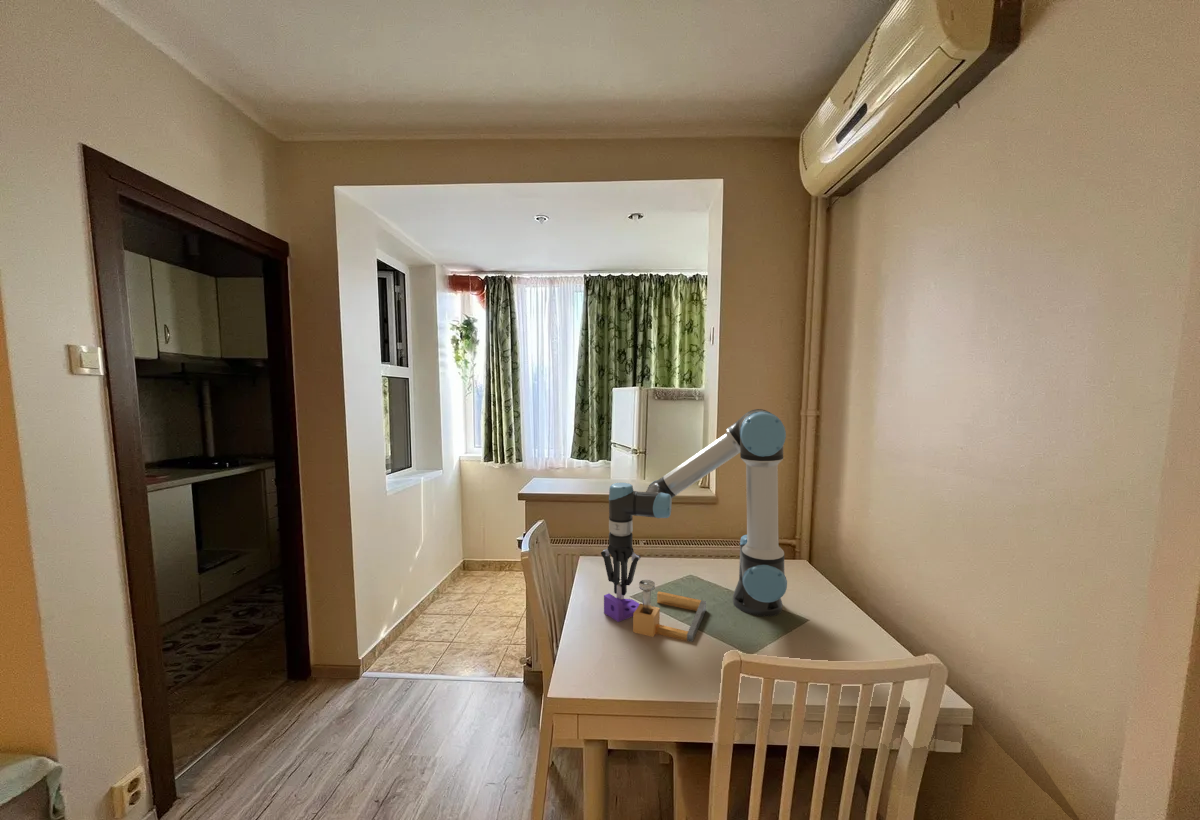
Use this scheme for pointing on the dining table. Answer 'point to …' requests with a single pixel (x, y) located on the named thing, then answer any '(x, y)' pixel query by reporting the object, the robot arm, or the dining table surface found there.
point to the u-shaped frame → (687, 604)
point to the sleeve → (646, 621)
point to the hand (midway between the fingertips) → (620, 603)
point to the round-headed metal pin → (647, 594)
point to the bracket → (619, 607)
